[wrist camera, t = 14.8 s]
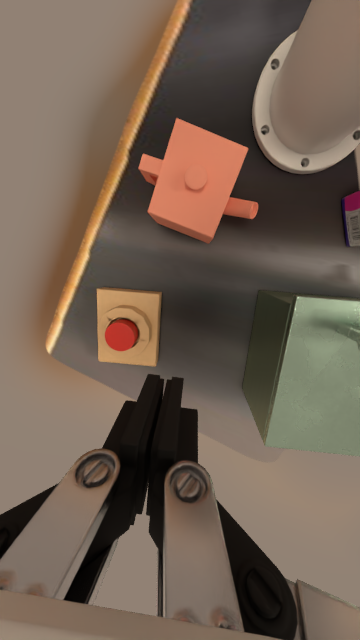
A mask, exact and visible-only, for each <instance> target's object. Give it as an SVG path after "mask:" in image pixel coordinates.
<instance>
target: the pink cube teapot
mask: <svg viewBox="0 0 360 640" xmlns="http://www.w3.org/2000/svg"><path fill="white" fill-rule="evenodd" d="M248 149H249V148H247V147H244V146H242V145H240V144H237V143H235V142H233V141H230V140H228V139H225V138H223V137H221V136H218V135H216V134H214V133H211V132H209V131H206V130H204V129H202V128H199V127H197V126H194V125H192V124H190V123H187V122H185V121H183V120H180V119H178V118H176V121H175V124H174V128H173V131H172V134H171V137H170V141H169V144H168V147H167V150H166V154H165V157H164V160H161V159H158V158H155V157H152V156H149V155H146V154H143V155H142V158H141V162H140V165H139V170H140V172H141V173H142V175H143V176H144V178H145V180H146V181H147V182H149V183H151V184H153V185H155V189H154V193H153V196H152V199H151V202H150V206H149V209H148V213H149V215H150V216H151V217H152V218H153V219H154V220H155V221H156V222H157V223H158V224H161V225H163V226H166V227H168V228H171V229H173V230H176V231H178V232H181V233H183V234H186V235H188V236H191V237H193V238H196V239H198V240H201V241H203V242H206V243H208V244H209V243H210V241H211V240H212V239H213V237H214V235H215V232H216V230H217V227H218V225H219V222H220V219H221V217H222V214H225V215H230V216H236V217H242V218H248V219H253V218H254V217H255V216H256V214H257V211H258V203H257V202H253V201H247V200H242V199H237V198H232V197H230V194H231V192H232V189H233V187H234V184H235V182H236V179H237V176H238V174H239V171H240V169H241V166H242V164H243V161H244V159H245V156H246V154H247V151H248Z"/></svg>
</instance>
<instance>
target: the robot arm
mask: <svg viewBox="0 0 360 640" xmlns="http://www.w3.org/2000/svg"><path fill="white" fill-rule="evenodd" d="M252 124H253V129H254V134H255V138H256V140H257V143H258V145H259V147H260V149H261V150H262V152H263V153H264V155H265V156H266V157H267V158H268V159H269V160H270V161H271V162H272V163H273V164H274V165H275V166H277V167H279V168H280V169H282V170H285V171H288V172H290V173H296V174H310V173H315V172H319V171H322V170H325V169H327V168H329V167H331V166H333V165H335V164H336V163H338V162H339V161H340V160H342V159H343V158H345V157H346V156H347V155H348V154H350V153H351V152H352V151H353V150H354V149H355V148H356V147H357V146H358V145H359V144H360V0H312V1H311V3H310V5H309V7H308V9H307V12H306V14H305V16H304V18H303V20H302V23H301V25H300V27H299V29H298V30H297V31H296V32H294V33H293V34H291V35H290V36H289V37H288V38H286V39H285V40H284V41H283V42H282V43H281V44H280V45H279V46H278V48H277V49H276V50H275V51H274V53H273V54H272V55H271V56H270V58H269V60H268V62H267V64H266V65H265V67H264V69H263V71H262V74H261V76H260V79H259V81H258V84H257V87H256V91H255V94H254V99H253V106H252ZM262 132H263V133H265V135H263V134H262ZM301 164H303V167H302V165H301ZM183 380H184V378H177V377H172V380H168V379H167V383H166V387H165V391H164V396H163V386H164V379H160V375H153V374H148V376H147V378H146V380H145V383H144V385H143V388H142V390H141V393H140V395H139V397H138V400H137V402H135V401H125V403H124V405H123V407H122V409H121V411H120V413H119V415H118V417H117V419H116V421H115V423H114V425H113V427H112V429H111V431H110V433H109V435H108V437H107V440H106V441H105V443H104V445H103V447H102V449H94V450H92V451H89V452H87V453H85V454H84V455H82V456H81V457H80V458H79V459H78V460H77V461H76V462H75V463H74V464H73V466H72V467H71V468H70V469H69V471H68V472H67V473H66V475H65V476H64V477H63V479H62V480H61V481H60V482H59V483H58V484H56V485H55V486H53V487H51V488H49V489H47V490H45V491H43V492H42V493H40V494H38V495H36V496H34V497H32V498H31V499H29V500H27V501H25V502H23V503H21V504H20V505H18V506H16V507H14V508H12V509H10V510H9V511H7V512H5V513H3V514H1V515H0V640H360V608H359V607H357V606H355V605H353V604H350V603H348V602H346V601H344V600H342V599H340V598H337V597H335V596H333V595H331V594H329V593H327V592H324V591H322V590H320V589H318V588H316V587H313V586H311V585H309V584H307V583H305V582H303V581H300V580H298V579H297V581H296V583H294V582H292V581H290V580H288V579H285V578H284V576H283V575H282V574H281V572H280V571H279V570H278V568H277V567H276V566H275V565H274V564H273V563H272V561H271V560H270V559H269V558H268V557H267V556H266V555H265V553H264V552H263V551H262V550H261V549H260V548H259V547H258V546H257V544H256V543H255V542H254V541H253V540H252V539H251V538H250V537H249V536H248V534H247V533H246V532H245V531H244V530H243V529H242V528H241V527H240V525H239V524H238V523H237V522H236V521H235V520H234V519H233V518H232V517H231V515H230V514H229V513H228V512H227V511H226V510H225V509H224V507H223V506H222V505H221V504H220V503H219V502H218V501H217V500H216V498H215V493H214V488H213V483H212V480H211V478H210V475H209V473H208V472H207V471H206V470H205V468H203V467H202V466H201V465H200V464H198V412H197V410H196V409H188V408H181V398H182V389H183ZM162 398H163V400H162ZM148 483H149V484H148ZM147 488H148V497H147V512H146V515H149V516H150V523H149V533H150V535H151V537H152V539H153V541H154V542H155V544H156V546H157V548H158V552H157V600H156V601H157V602H156V604H157V605H156V616H151V615H145V614H140V613H133V612H128V611H122V610H117V609H111V608H105V607H99V606H94V605H93V604H94V601H95V599H96V596H97V594H98V591H99V589H100V586H101V584H102V581H103V579H104V576H105V574H106V571H107V568H108V566H109V564H110V561H111V559H112V556H113V554H114V551H115V548H116V546H117V542H118V539H119V537H120V536H121V535H122V534H124V533H125V532H126V531H127V530H128V529H129V527H130V525H134V521H135V516H136V514H142V511H143V506H144V502H145V497H146V492H147Z"/></svg>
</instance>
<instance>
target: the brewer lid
mask: <svg viewBox="0 0 360 640" xmlns="http://www.w3.org/2000/svg"><path fill="white" fill-rule="evenodd" d="M263 442H264V445H265V446H267V447H276V448H286V449H296V450H305V451H314V452H324V453H333V454H342V455H352V456H360V300H351V299H339V298H327V297H314V296H302V295H293V299H292V304H291V308H290V313H289V318H288V323H287V328H286V332H285V337H284V342H283V347H282V351H281V356H280V361H279V366H278V370H277V375H276V380H275V385H274V390H273V394H272V399H271V404H270V409H269V413H268V418H267V423H266V428H265V433H264V437H263Z"/></svg>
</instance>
